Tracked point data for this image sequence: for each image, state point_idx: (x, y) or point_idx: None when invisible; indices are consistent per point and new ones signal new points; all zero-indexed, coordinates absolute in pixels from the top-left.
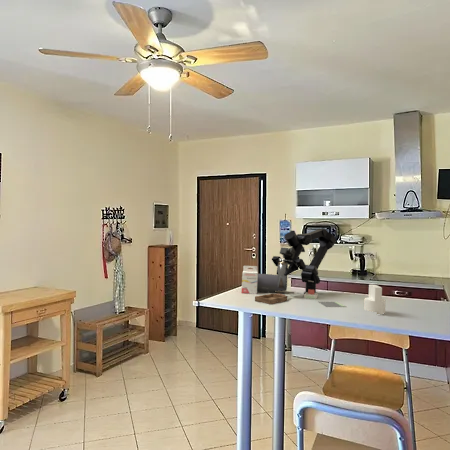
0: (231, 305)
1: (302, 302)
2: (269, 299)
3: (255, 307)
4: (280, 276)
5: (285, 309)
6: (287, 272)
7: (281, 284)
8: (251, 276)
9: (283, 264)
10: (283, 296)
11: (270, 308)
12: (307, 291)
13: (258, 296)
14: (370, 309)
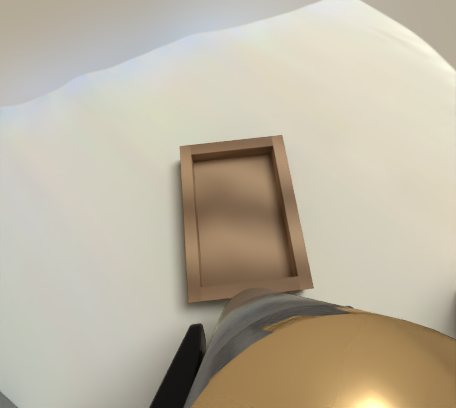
0: (251, 29)
1: (112, 357)
2: (183, 146)
3: (175, 75)
4: (253, 294)
5: (74, 147)
6: (169, 383)
7: (236, 296)
8: None
9: (210, 368)
10: (209, 286)
11: (127, 110)
12: None
13: (273, 149)
14: None
